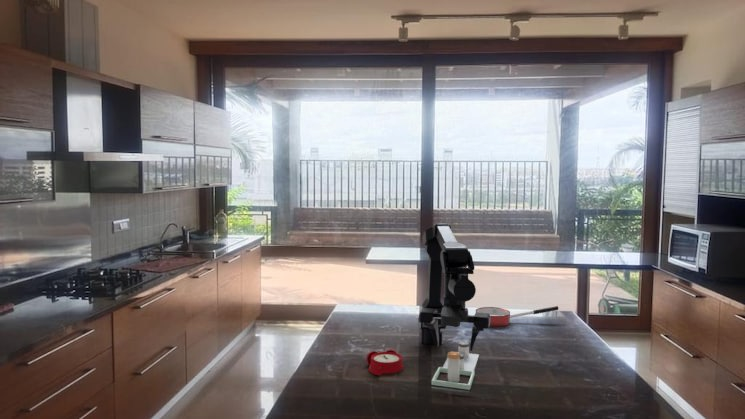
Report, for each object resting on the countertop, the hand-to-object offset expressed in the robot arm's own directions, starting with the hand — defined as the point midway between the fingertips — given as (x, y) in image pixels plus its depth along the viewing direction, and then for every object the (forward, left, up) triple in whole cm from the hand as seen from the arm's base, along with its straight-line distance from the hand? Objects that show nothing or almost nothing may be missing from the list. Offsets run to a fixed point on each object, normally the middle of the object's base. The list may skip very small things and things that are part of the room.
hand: (454, 348), depth 141 cm
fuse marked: (0, 0, -9) cm, 9 cm away
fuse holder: (0, +14, -10) cm, 17 cm away
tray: (0, 0, -10) cm, 10 cm away
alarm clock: (-21, +5, -10) cm, 24 cm away
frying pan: (+14, +68, -10) cm, 70 cm away
